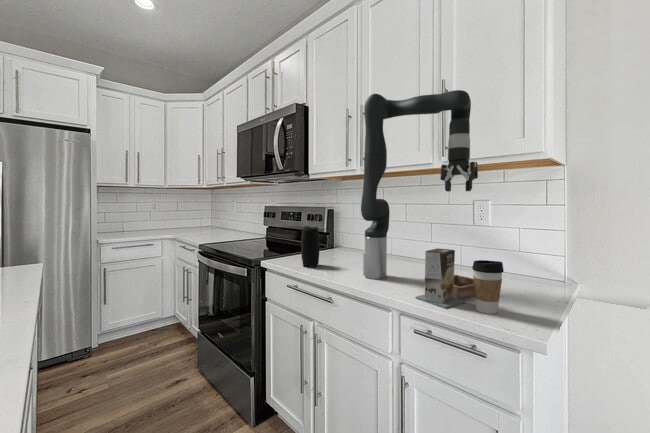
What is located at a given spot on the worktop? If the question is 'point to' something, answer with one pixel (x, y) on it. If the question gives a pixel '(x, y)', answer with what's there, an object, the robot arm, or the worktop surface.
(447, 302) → the slate mat
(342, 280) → the worktop surface
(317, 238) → the portable speaker
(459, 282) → the walnut caddy
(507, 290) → the worktop surface
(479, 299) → the coffee cup
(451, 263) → the coffee box
